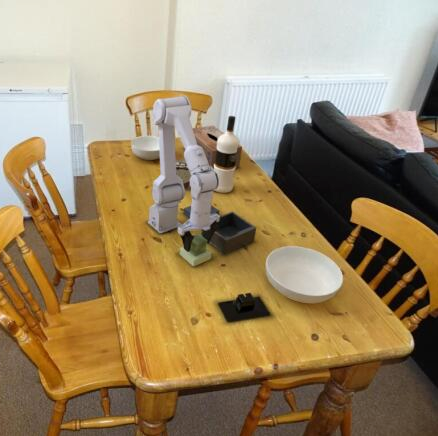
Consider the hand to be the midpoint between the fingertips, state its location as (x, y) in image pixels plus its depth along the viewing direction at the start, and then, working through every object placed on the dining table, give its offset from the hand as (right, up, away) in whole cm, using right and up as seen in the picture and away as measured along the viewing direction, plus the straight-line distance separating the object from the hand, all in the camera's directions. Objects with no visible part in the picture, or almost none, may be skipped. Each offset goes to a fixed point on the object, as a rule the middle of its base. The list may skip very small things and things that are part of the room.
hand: (196, 246), depth 127 cm
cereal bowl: (-14, +37, +62) cm, 73 cm away
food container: (-3, +22, +40) cm, 46 cm away
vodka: (+15, +21, +39) cm, 47 cm away
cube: (0, -1, +1) cm, 2 cm away
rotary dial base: (+4, +10, +22) cm, 25 cm away
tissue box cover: (+14, +36, +63) cm, 74 cm away
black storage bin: (+12, +2, +11) cm, 16 cm away
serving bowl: (+29, -11, -7) cm, 32 cm away
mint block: (0, -3, +2) cm, 4 cm away
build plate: (+11, -16, -16) cm, 25 cm away
